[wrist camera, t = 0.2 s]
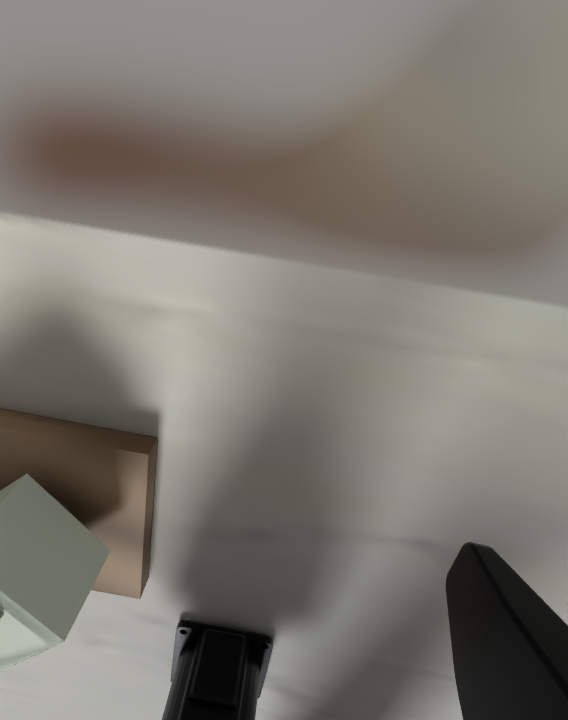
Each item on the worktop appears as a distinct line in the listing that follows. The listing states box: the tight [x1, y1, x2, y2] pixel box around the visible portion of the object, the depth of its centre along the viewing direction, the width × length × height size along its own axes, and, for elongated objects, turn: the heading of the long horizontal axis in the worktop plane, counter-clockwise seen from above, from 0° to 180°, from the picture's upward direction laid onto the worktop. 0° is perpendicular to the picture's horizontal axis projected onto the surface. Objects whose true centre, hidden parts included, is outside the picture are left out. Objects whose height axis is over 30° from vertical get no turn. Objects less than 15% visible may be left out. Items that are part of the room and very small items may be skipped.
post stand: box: [0, 409, 158, 599], centre depth 24 cm, size 11×11×7 cm
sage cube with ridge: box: [0, 474, 111, 672], centre depth 22 cm, size 6×6×5 cm
